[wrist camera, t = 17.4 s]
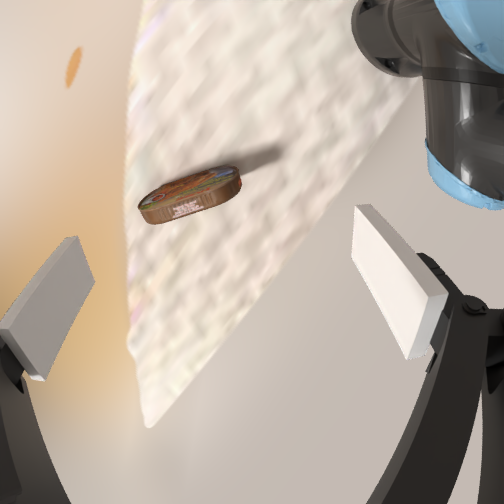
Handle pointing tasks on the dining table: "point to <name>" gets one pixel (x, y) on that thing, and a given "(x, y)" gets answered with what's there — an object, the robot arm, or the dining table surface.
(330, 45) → the dining table surface
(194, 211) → the tin
